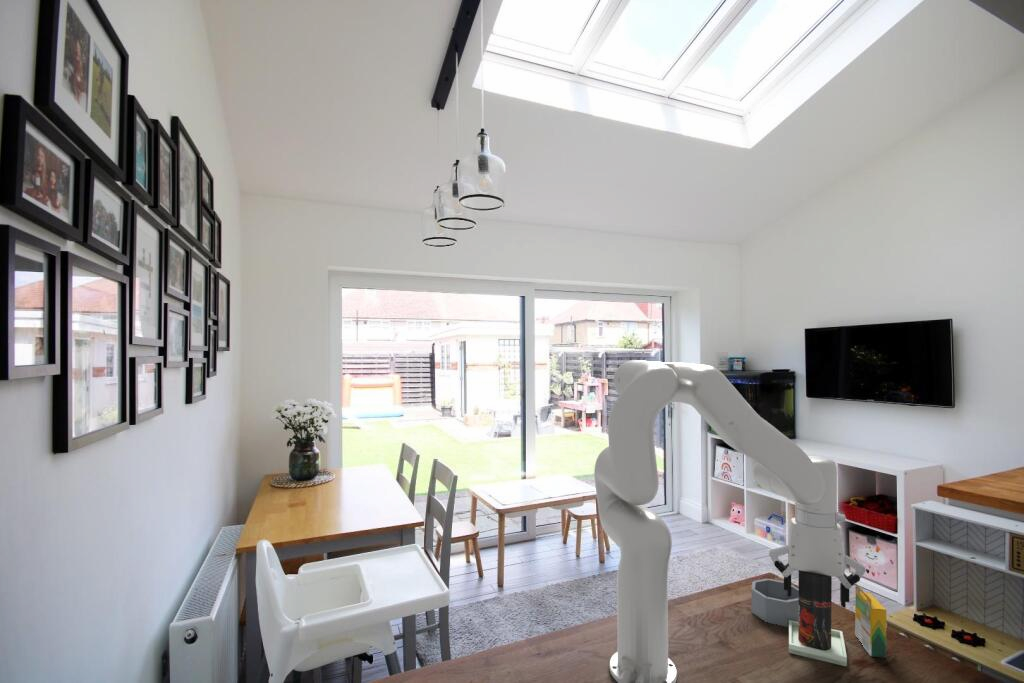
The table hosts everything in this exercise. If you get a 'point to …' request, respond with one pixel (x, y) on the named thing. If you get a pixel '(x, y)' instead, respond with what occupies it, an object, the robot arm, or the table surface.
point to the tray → (832, 655)
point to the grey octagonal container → (774, 602)
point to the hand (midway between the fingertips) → (815, 599)
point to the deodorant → (814, 610)
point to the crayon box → (870, 623)
